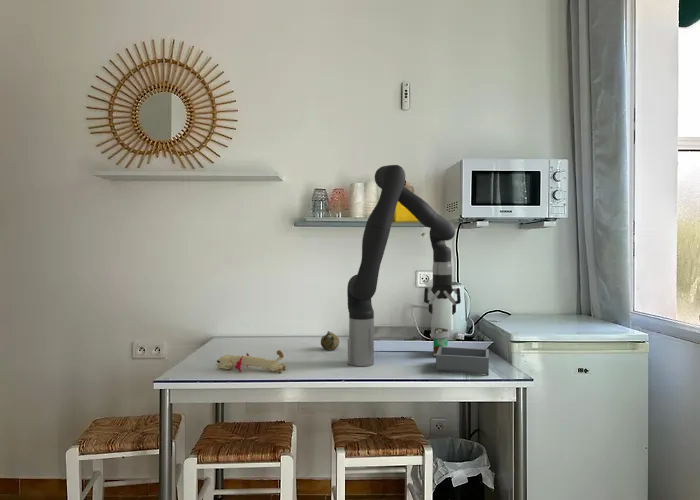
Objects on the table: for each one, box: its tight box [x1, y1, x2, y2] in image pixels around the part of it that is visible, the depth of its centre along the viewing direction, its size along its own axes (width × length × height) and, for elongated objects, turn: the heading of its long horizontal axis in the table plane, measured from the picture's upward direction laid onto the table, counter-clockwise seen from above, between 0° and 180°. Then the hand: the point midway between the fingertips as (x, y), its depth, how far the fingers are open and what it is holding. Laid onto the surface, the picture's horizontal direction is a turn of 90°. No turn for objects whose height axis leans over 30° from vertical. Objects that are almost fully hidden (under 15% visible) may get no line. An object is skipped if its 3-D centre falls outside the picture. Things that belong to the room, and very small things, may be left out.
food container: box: [432, 327, 451, 359], centre depth 216 cm, size 12×6×10 cm, turn 168°
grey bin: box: [435, 346, 490, 376], centre depth 196 cm, size 18×14×6 cm
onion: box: [320, 330, 340, 351], centre depth 226 cm, size 8×8×8 cm
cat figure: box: [215, 349, 287, 374], centre depth 194 cm, size 10×9×25 cm
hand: (442, 313), depth 216 cm, fingers open, 8 cm apart
